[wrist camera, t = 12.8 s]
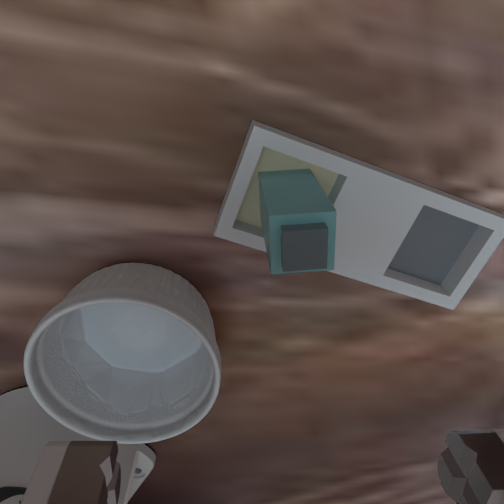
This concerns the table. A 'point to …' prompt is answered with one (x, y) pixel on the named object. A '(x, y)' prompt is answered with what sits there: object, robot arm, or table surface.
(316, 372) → the table surface
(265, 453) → the table surface
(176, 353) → the ramekin
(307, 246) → the teal plug
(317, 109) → the table surface
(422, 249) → the socket panel
